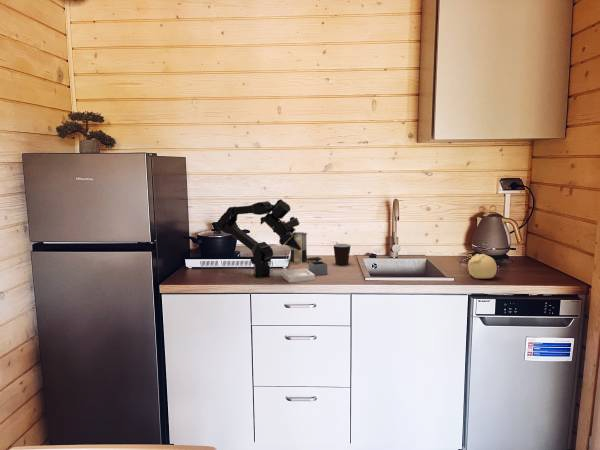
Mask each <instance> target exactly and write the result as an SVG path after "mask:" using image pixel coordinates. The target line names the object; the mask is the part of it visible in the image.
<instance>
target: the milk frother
mask: <svg viewBox="0 0 600 450" xmlns="http://www.w3.org/2000/svg"><path fill="white" fill-rule="evenodd" d="M295 232H296V231H294V232H293V234H294V233H295ZM296 235H302V263H305V262H307V261H309V262H317V261H323V260H322V259H323V258H321V257H319V256H316V257H315V256H313V257H308V256H307V253H308V251H307V250H308V249H307V235H308V233H307V232H303V231H301V232H298V231H297V232H296ZM289 257H290V259H289V261H290V262H291V263H294V248H292V247H290V256H289Z"/></svg>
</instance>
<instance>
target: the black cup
mask: <svg viewBox="0 0 600 450" xmlns="http://www.w3.org/2000/svg"><path fill="white" fill-rule="evenodd" d="M350 252H351V244H350V243H335V244H333V253H334V261H335V262H334V263H335V266H338V267H346V266H347V267H348V266H349V263H350V262H349V261H350V254H351V253H350Z"/></svg>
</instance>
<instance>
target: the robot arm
mask: <svg viewBox="0 0 600 450" xmlns="http://www.w3.org/2000/svg"><path fill="white" fill-rule="evenodd" d="M290 211H291V206H290V204H288V203H287V202H286V201H284V200H282V199H277V201H276V203H275V204H272V203H271V202H270V201H268V200H266V201H259V202H256V203H252V204H250V205H249V204H248V205H241V206H236V205H235V206H229V207H228V208H227V209H226V211H225V212H224V213H223V214H222V215H221V216H220V217H219V219H218V220H217V223H216V225H217V226H216V227H217V229H218V230H219V231H221V232H222V233H224V234H228V235H231V236H232V237H234V238H235V240H237V241H239V242H240V243H241V244H242V245H244V246H245V247H246V248H248V249H249V250H250V251H251V253H252V255H253V256H252V257H251V258H250V262H251V264H252V265H253V273H252V275H253V277H255V278H266V277H267V278H268V277H270V276H271V275H270V274H271V267H270V265H269V262H271V261H272V257H274V250H273V248H272V247H271V245H269V244H268V243H267V242H265V241H262V242H258V241H256V240H255V239H254V238H253V237H252V236H250V235H249V234H248V233H247V232H245V231H244V230H242V229H241V228H240V227H239V226H238V224H237V221H238V215H246V214H253V215H259V216H261V217H260V225H263V224H264V223H265V224H266V225H267V226H268V227H269V228H270V229H271V230H272V232H273V233H274V234H276V235H277V236H278V237H279V242H278V243H279V244H280V246H287V247H290V248H291V247H292V248H295V249H297V250H301V247H300V246H299V245H298V243H297V242H296V241H295V239H294V235H296V228H295V227H298V226H300V221H299V219H298V218H297V217H295V216H291V217H290V218H289V220H288V221H287V222H286V221H285V220H282V219H283V218H284V217H285V216H286V215H287V214H288V213H289V212H290ZM262 215H264V216H262ZM294 232H295V233H294ZM293 233H294V234H293Z"/></svg>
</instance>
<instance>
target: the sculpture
mask: <svg viewBox="0 0 600 450" xmlns="http://www.w3.org/2000/svg"><path fill="white" fill-rule="evenodd" d="M497 269H498V268H497V263H496V261H495V259H494V258H493V257H491V256H489V255H486V254H485V253H481V254H479V253H475V255H473V256H472V257H471V258H470V259H469V260H468V263H467V270H468V272H469V275H470V276H471V277H473V278H475V279H492V278H494V277H495V276H496V273H497Z"/></svg>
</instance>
